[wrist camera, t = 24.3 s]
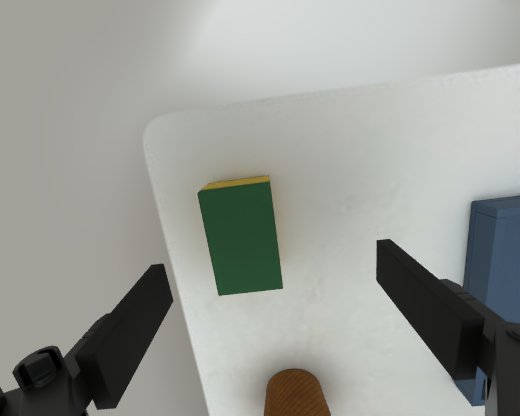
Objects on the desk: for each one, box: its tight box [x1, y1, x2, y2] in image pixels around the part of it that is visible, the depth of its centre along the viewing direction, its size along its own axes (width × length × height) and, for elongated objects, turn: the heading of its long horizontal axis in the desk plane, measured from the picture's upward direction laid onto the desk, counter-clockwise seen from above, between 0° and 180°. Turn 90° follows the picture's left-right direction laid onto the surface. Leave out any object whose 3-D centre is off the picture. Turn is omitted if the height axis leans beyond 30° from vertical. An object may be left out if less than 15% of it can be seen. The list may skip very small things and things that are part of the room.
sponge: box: [198, 176, 283, 296], centre depth 22 cm, size 9×6×4 cm, turn 8°
